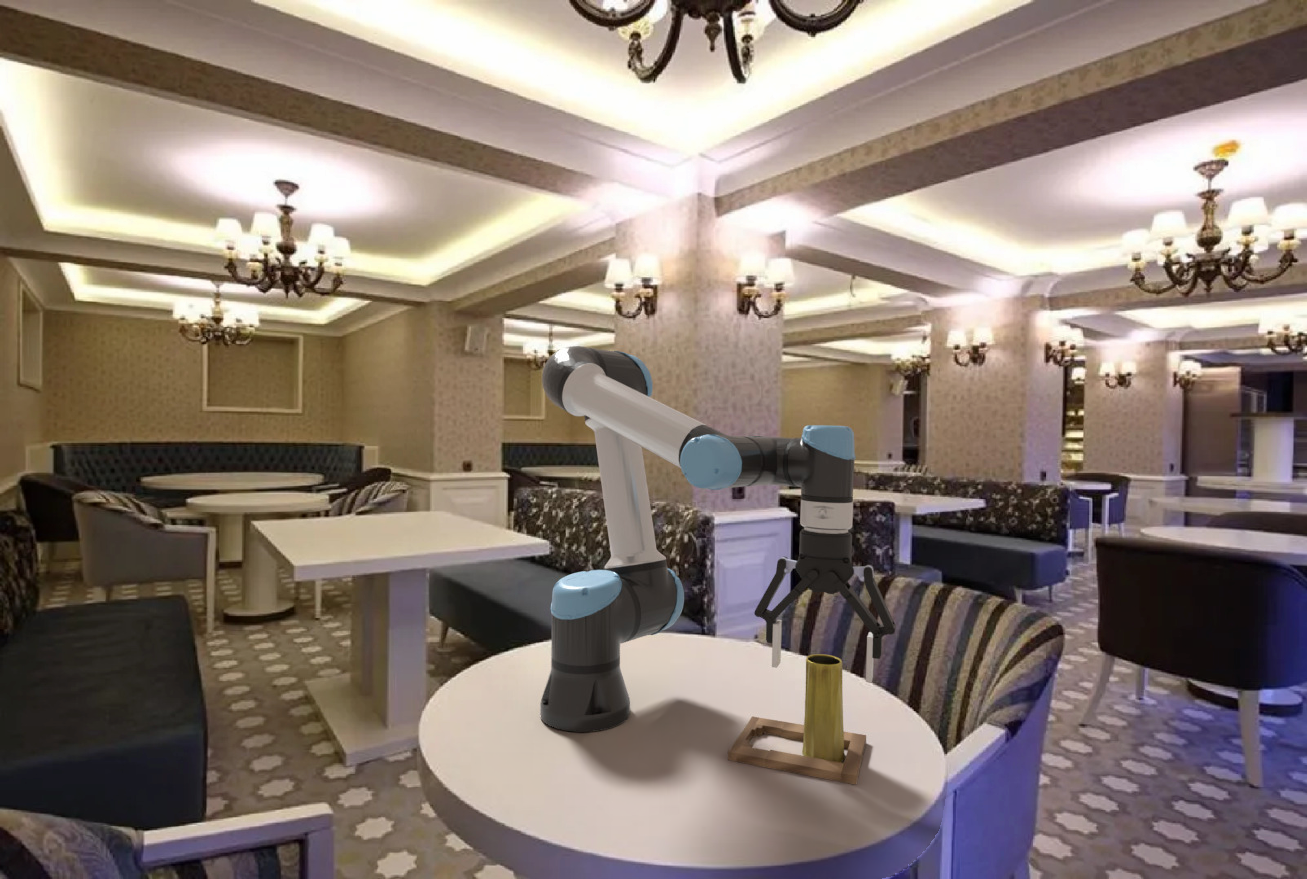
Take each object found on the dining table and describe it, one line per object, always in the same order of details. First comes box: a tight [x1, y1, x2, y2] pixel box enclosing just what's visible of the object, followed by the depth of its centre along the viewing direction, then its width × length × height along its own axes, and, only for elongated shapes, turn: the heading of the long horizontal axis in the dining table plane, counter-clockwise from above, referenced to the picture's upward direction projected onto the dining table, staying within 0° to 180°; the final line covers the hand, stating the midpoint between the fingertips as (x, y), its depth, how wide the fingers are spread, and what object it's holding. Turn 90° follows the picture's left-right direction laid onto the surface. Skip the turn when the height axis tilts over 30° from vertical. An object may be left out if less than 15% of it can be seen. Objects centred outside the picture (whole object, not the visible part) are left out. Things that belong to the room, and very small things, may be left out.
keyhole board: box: [727, 716, 867, 786], centre depth 102 cm, size 18×14×1 cm
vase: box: [801, 653, 846, 763], centre depth 101 cm, size 6×6×14 cm
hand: (821, 672), depth 101 cm, fingers open, 13 cm apart
